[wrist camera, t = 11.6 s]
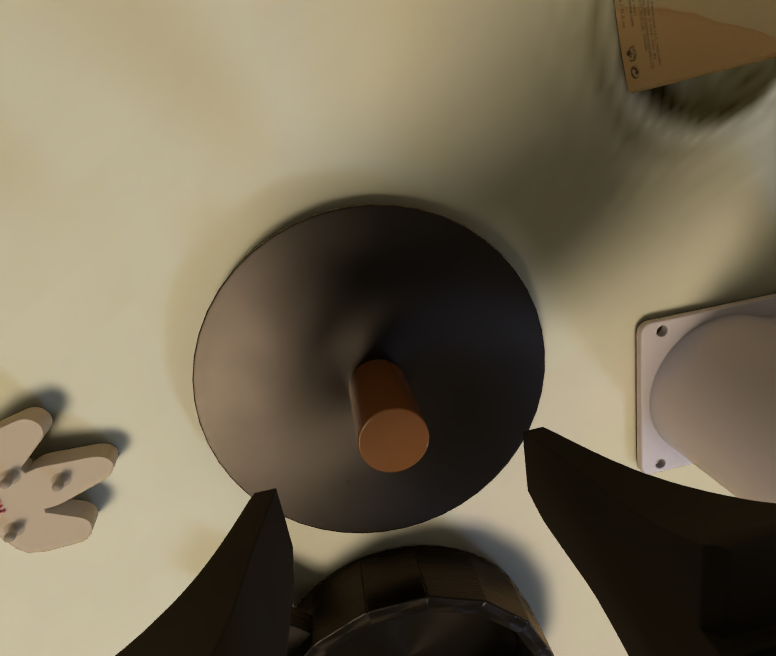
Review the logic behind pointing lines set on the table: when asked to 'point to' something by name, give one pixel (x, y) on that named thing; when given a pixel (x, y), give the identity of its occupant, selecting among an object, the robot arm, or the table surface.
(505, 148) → the table surface
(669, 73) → the box
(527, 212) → the table surface
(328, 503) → the pan lid
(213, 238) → the table surface
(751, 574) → the robot arm
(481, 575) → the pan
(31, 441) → the game controller
